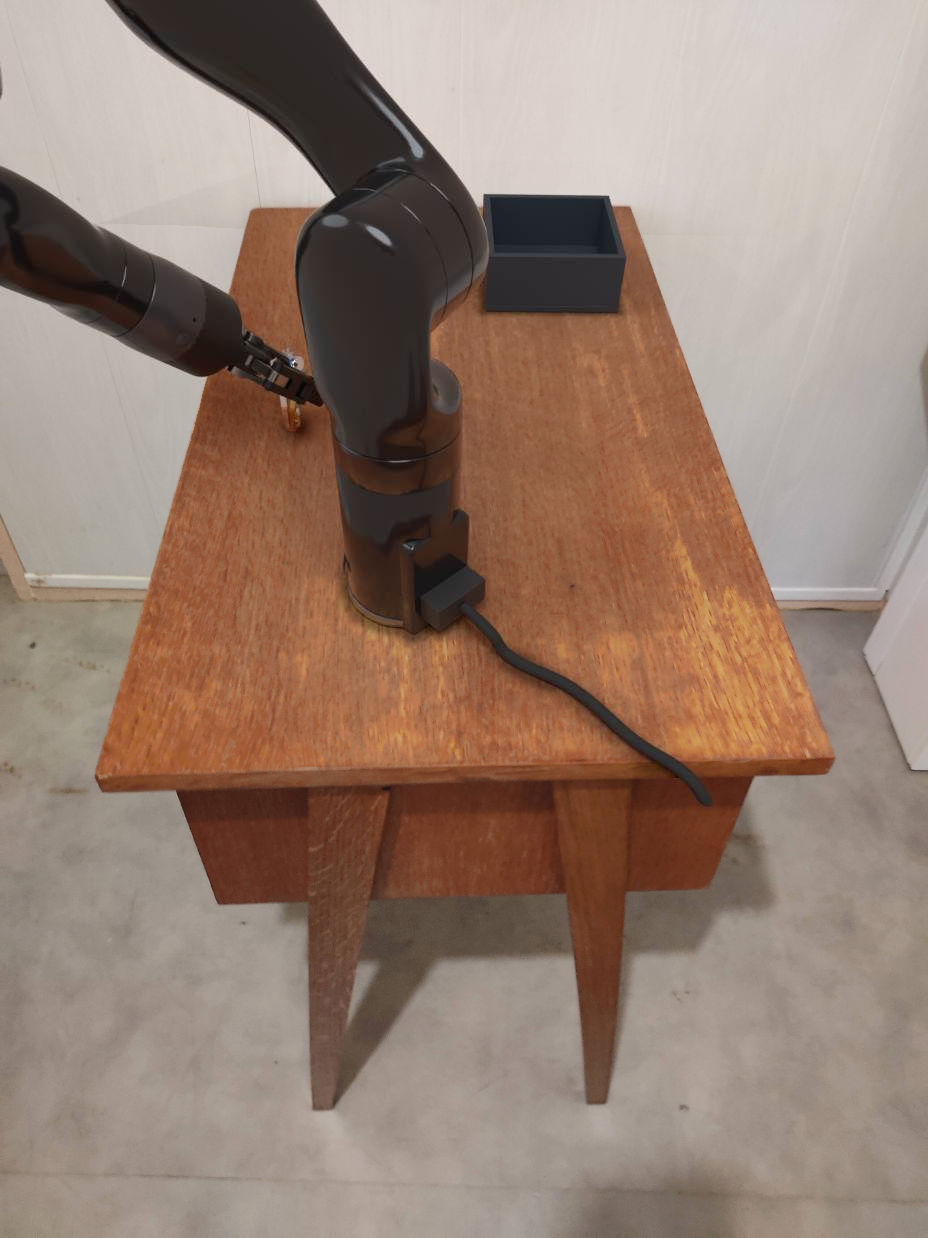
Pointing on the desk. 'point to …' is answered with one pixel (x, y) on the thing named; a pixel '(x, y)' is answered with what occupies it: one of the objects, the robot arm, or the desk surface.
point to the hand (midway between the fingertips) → (304, 381)
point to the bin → (552, 253)
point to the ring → (294, 415)
